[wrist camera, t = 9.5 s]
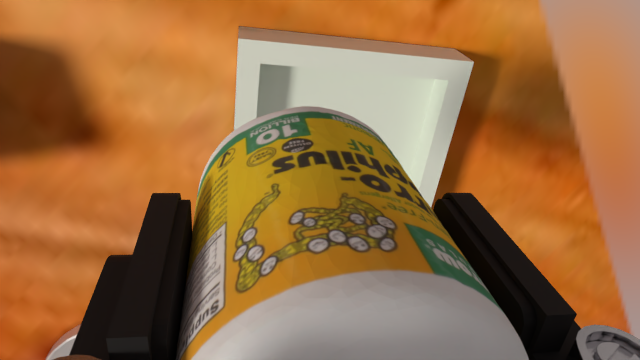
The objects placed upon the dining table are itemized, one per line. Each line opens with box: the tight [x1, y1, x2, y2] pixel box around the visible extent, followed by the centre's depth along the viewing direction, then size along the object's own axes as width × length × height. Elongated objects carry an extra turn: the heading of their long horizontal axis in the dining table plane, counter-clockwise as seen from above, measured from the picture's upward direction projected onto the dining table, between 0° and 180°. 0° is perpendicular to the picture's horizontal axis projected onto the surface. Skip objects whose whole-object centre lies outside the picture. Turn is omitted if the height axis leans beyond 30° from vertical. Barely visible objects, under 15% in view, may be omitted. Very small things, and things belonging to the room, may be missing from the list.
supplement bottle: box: [175, 106, 529, 360], centre depth 8 cm, size 5×5×10 cm
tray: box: [234, 26, 474, 207], centre depth 25 cm, size 11×11×2 cm
